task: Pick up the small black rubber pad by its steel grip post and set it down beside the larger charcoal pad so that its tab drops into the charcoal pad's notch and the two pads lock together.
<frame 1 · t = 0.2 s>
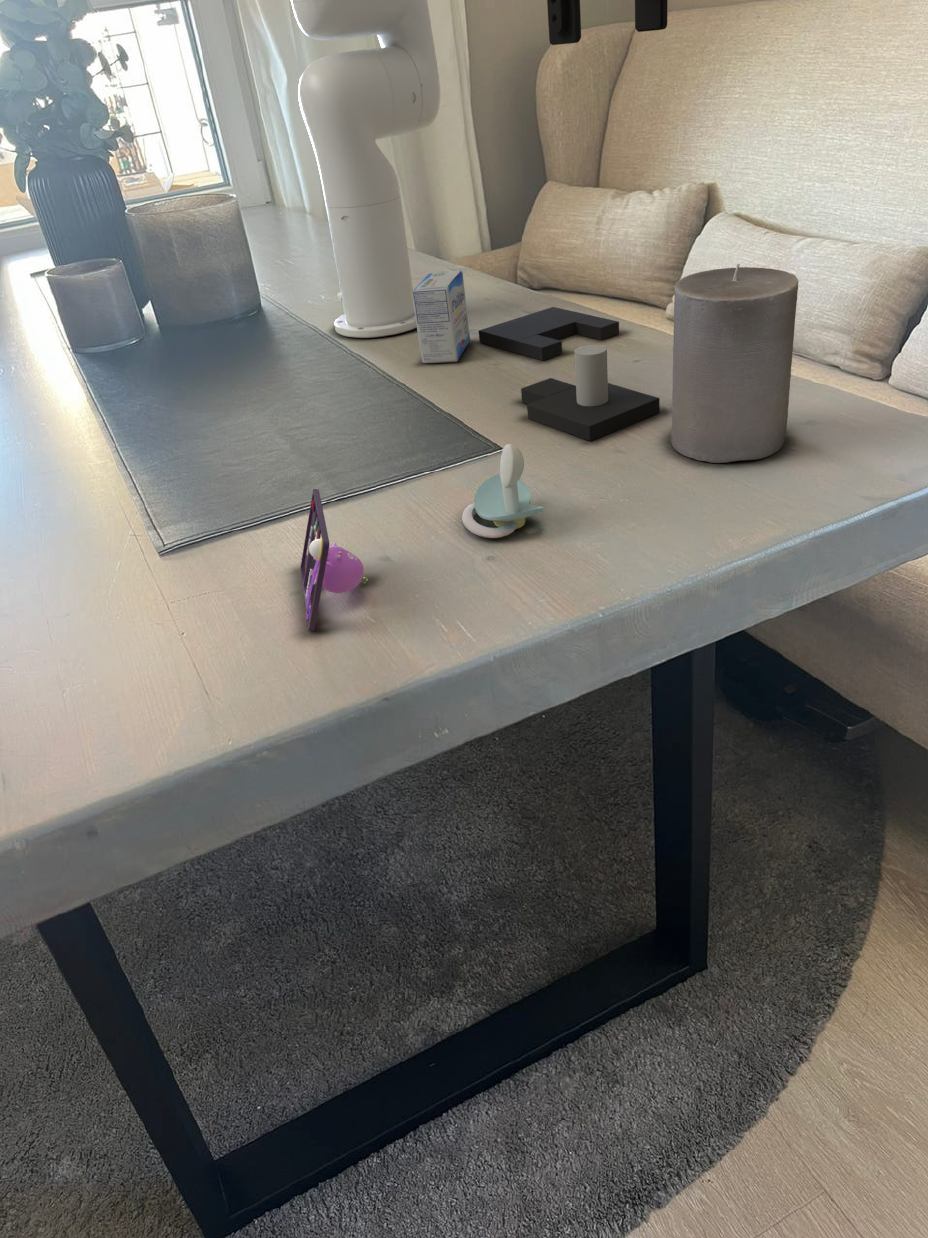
hand: (609, 36, 78), 31 cm above the table, tool pointing down, fingers open, 9 cm apart
big pad: (548, 338, 114), on the table
small pad: (592, 415, 91), on the table
pacifier: (501, 524, 74), on the table
purple panel with bulb: (337, 596, 68), on the table
pillar candle: (727, 444, 82), on the table
medicine box: (446, 354, 113), on the table
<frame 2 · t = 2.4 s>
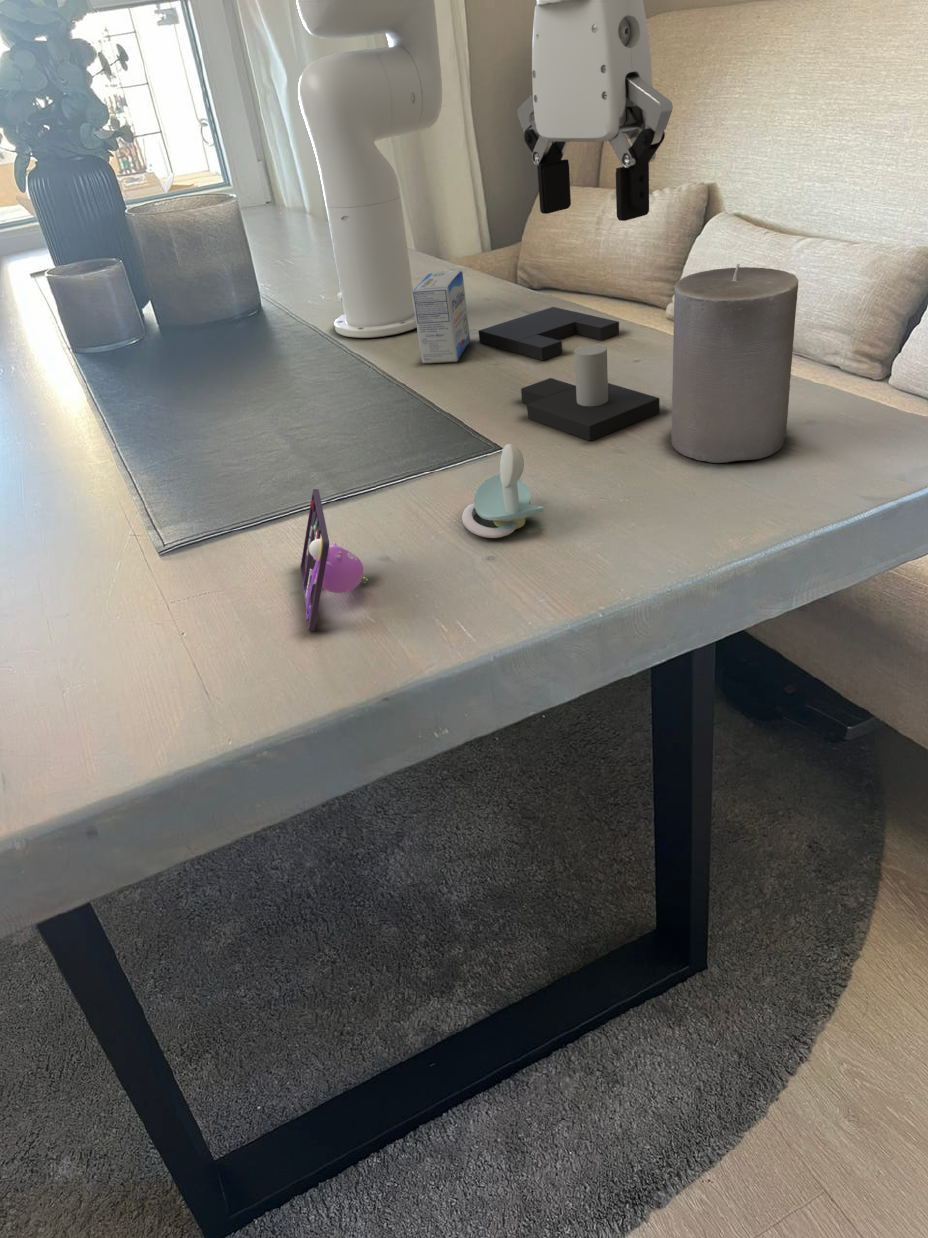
hand: (592, 213, 82), 18 cm above the table, tool pointing down, fingers open, 9 cm apart
nothing on the table moved.
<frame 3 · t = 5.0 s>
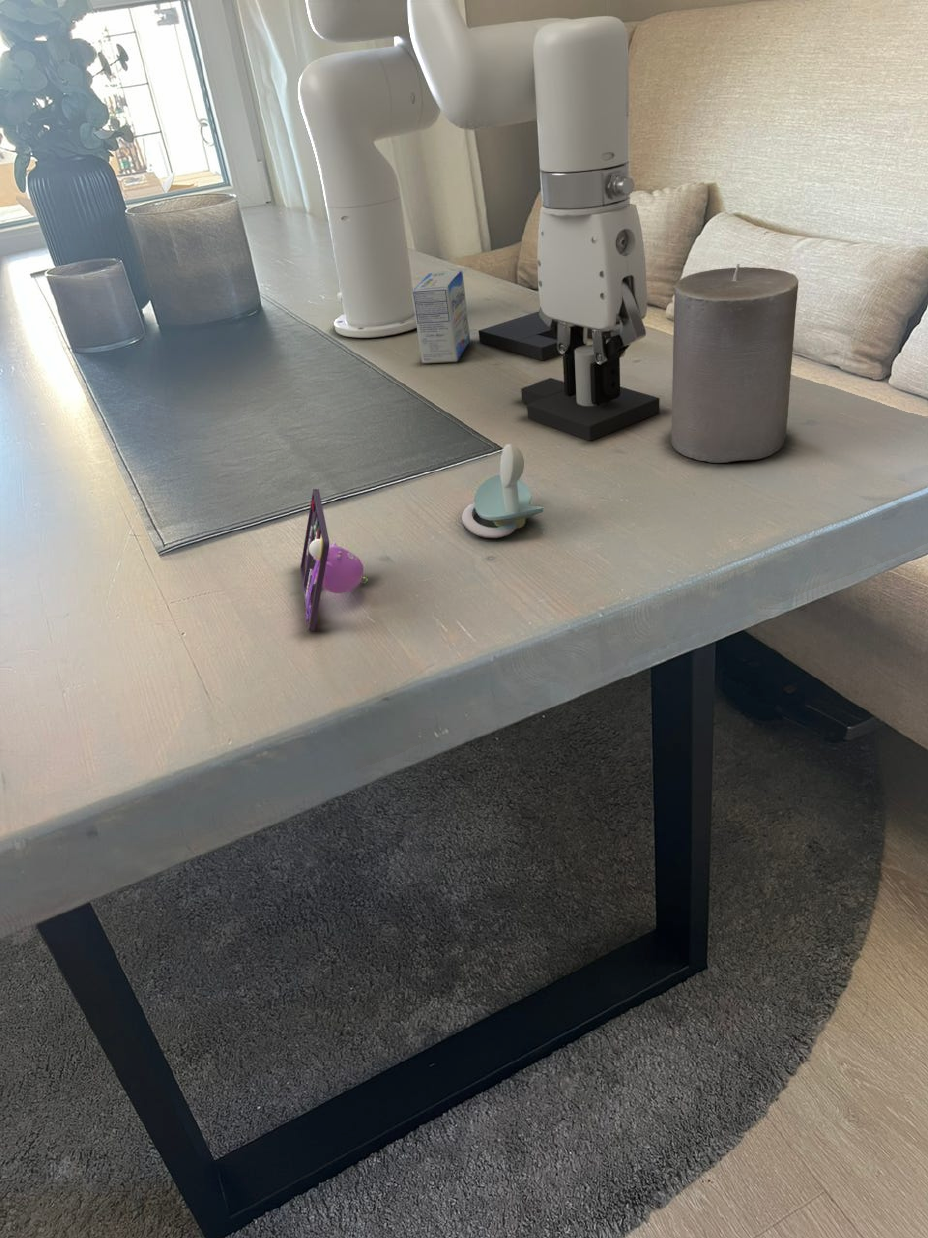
hand: (592, 394, 90), 2 cm above the table, tool pointing down, fingers closed on small pad, 3 cm apart
small pad: (592, 415, 91), on the table, touching gripper
everything else where it was.
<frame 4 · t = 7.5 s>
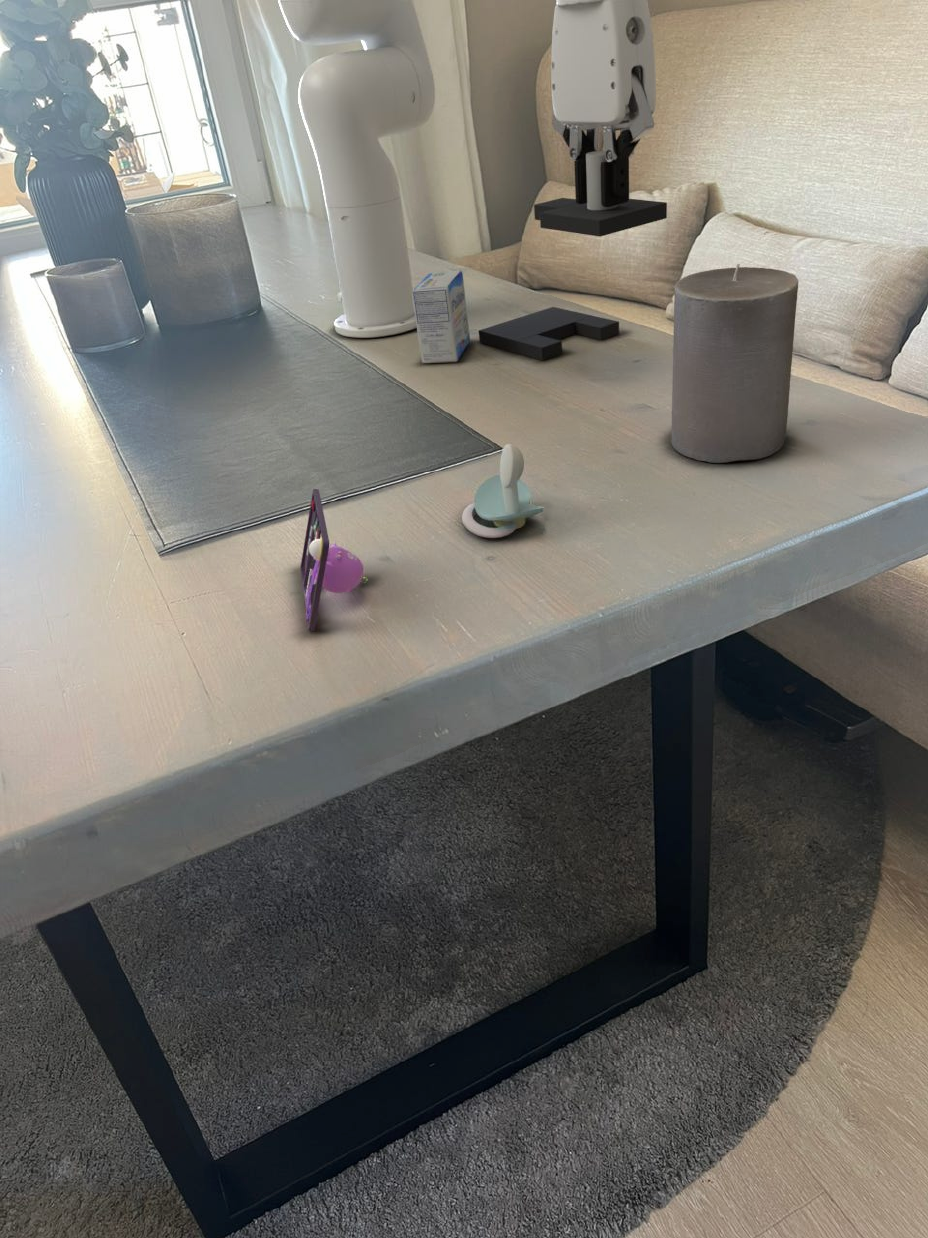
hand: (602, 200, 94), 17 cm above the table, tool pointing down, fingers closed on small pad, 3 cm apart
small pad: (602, 223, 95), point 15 cm above the table, touching gripper
everything else where it was.
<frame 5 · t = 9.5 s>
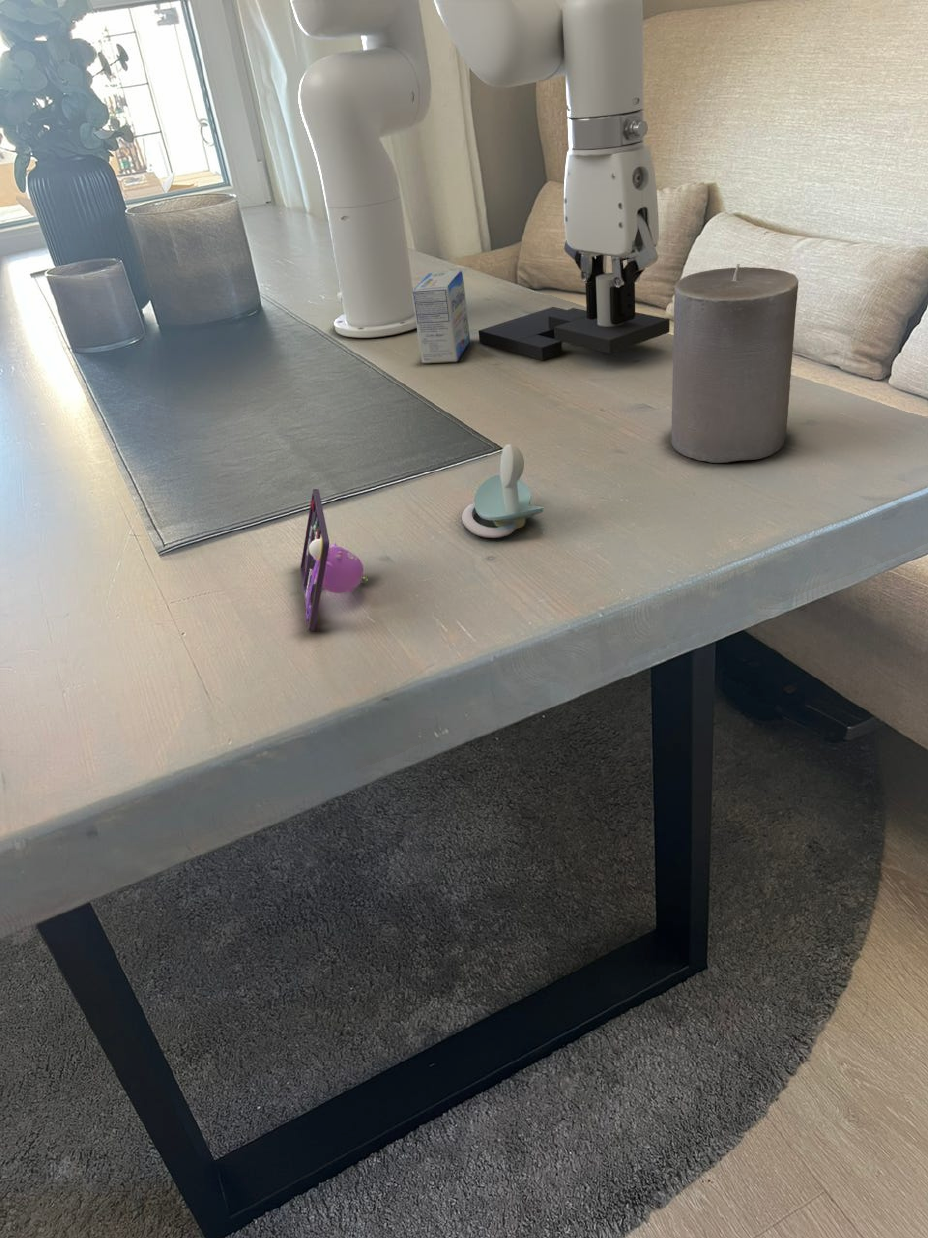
hand: (610, 317, 104), 4 cm above the table, tool pointing down, fingers closed on small pad, 3 cm apart
small pad: (611, 336, 105), point 2 cm above the table, touching gripper
everything else where it was.
when the fingers open (2 cm above the table, at t = 10.4 s): small pad stays where it is, on the table.
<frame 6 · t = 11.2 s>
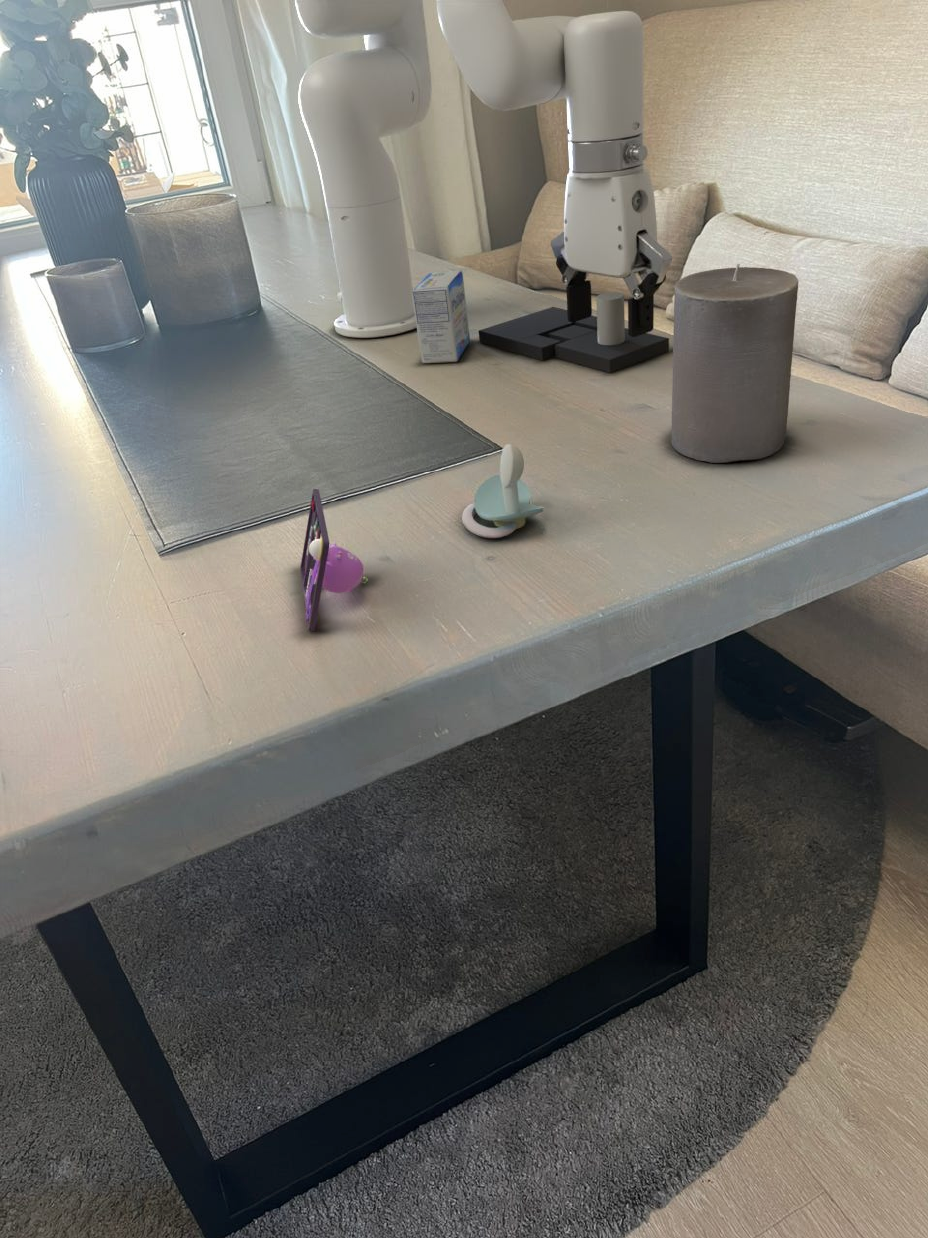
hand: (609, 326, 104), 3 cm above the table, tool pointing down, fingers open, 9 cm apart
small pad: (611, 354, 106), on the table
everything else where it was.
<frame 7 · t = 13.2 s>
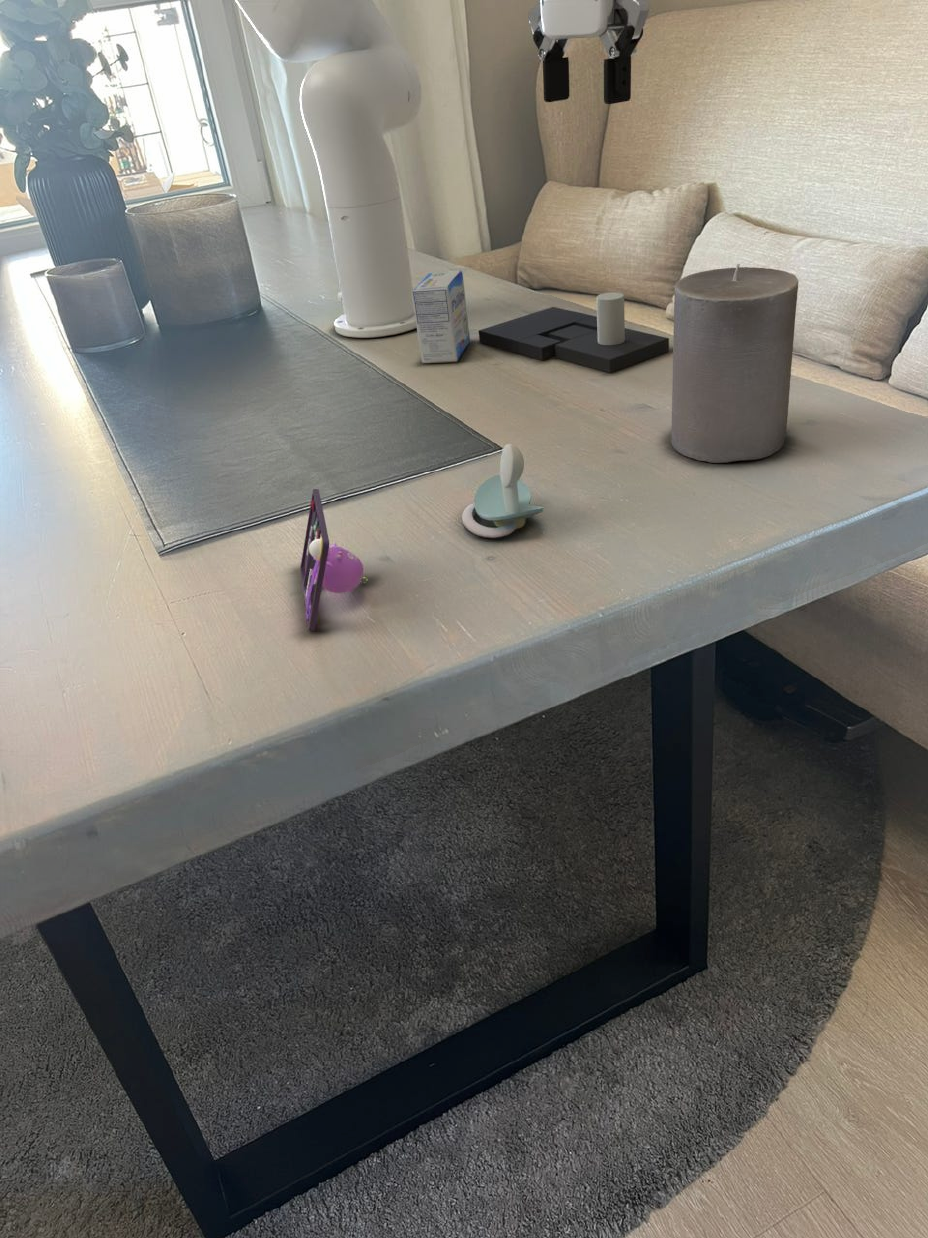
hand: (586, 101, 100), 25 cm above the table, tool pointing down, fingers open, 9 cm apart
nothing on the table moved.
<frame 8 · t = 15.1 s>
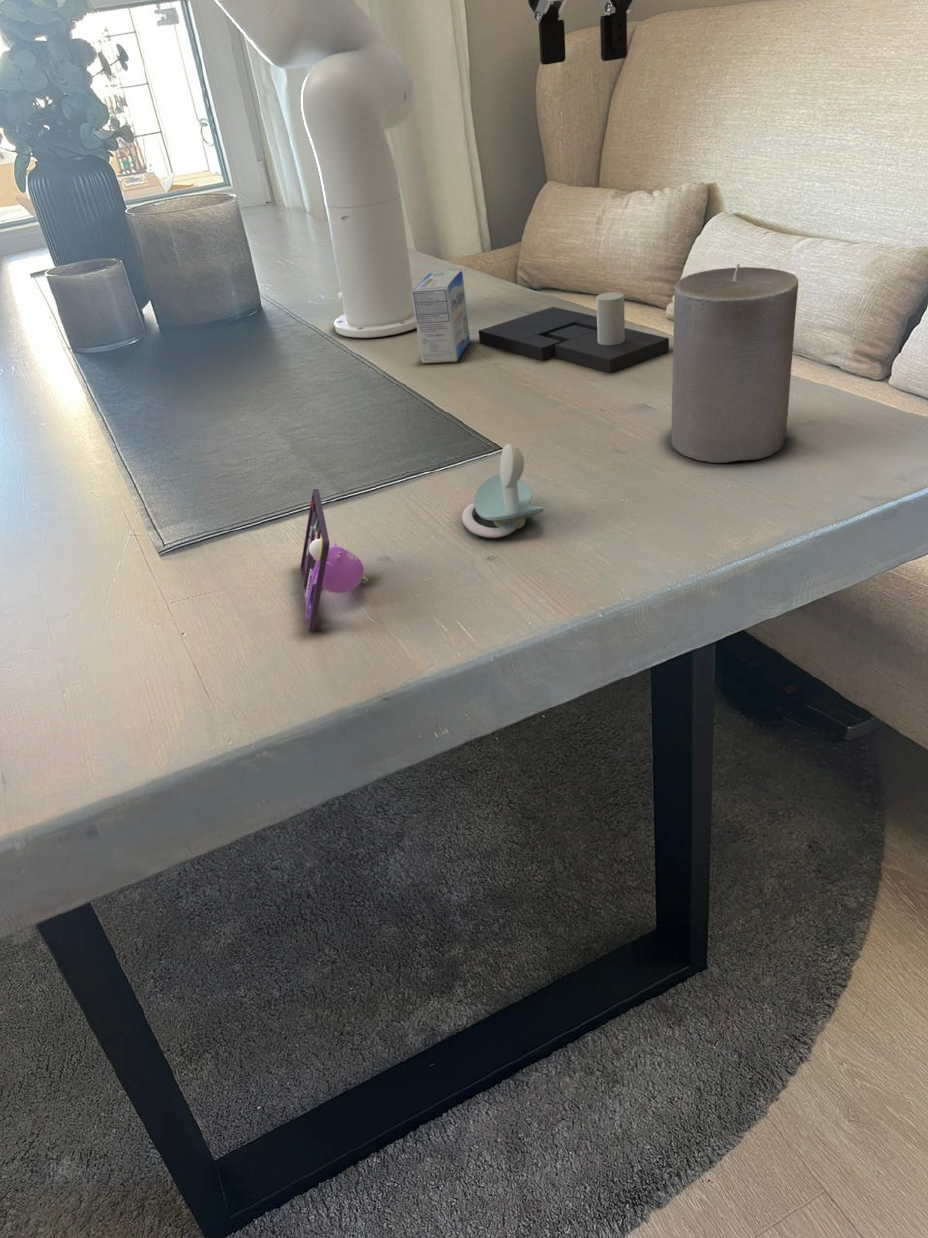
hand: (582, 61, 102), 28 cm above the table, tool pointing down, fingers open, 9 cm apart
nothing on the table moved.
at the end: small pad 0.2 cm from the target spot on the table beside the big pad, on the table; small pad tilted 0°; the gripper is holding nothing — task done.
